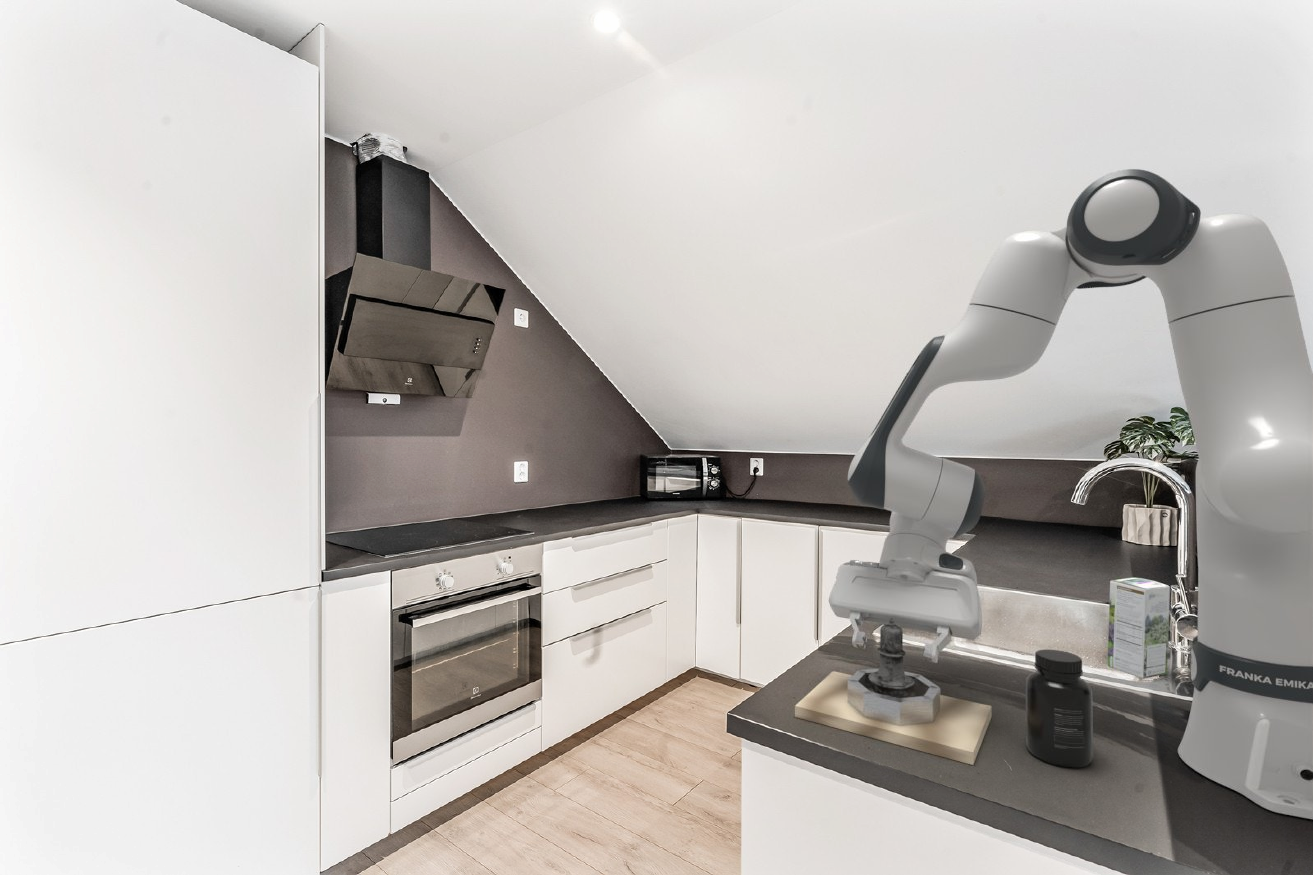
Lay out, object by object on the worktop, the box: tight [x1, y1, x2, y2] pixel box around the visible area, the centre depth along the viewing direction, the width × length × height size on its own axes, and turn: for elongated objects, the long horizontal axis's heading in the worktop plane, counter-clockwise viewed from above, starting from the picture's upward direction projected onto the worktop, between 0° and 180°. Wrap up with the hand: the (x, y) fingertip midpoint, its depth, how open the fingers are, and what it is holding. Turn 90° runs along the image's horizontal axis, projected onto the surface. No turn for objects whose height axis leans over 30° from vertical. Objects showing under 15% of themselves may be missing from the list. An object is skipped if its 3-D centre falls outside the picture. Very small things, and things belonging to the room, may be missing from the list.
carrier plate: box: [794, 670, 993, 766], centre depth 88 cm, size 22×15×2 cm
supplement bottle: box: [1025, 648, 1094, 768], centre depth 78 cm, size 7×7×12 cm
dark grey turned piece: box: [869, 618, 914, 698], centre depth 88 cm, size 6×6×12 cm
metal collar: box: [848, 668, 941, 726], centre depth 88 cm, size 11×11×3 cm
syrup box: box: [1107, 577, 1171, 680], centre depth 104 cm, size 6×6×14 cm
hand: (892, 652), depth 87 cm, fingers open, 8 cm apart
